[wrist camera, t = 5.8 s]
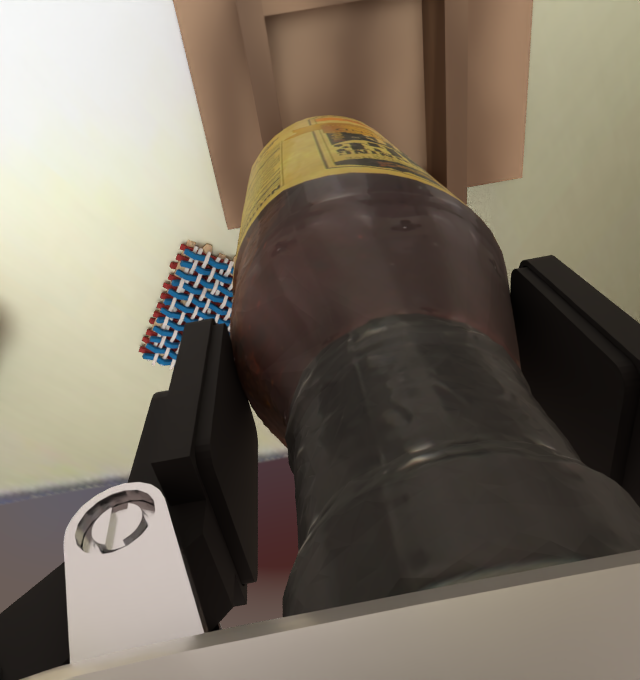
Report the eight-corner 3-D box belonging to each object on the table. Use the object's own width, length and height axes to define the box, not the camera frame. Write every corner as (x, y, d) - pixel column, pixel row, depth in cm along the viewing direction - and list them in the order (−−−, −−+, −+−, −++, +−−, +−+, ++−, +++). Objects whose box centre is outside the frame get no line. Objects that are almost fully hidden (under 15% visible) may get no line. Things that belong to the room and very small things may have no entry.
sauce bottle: (425, 192, 23) (950, 700, 6) (316, 287, 24) (464, 898, 7) (323, 63, 20) (765, 300, 3) (207, 180, 21) (31, 782, 4)
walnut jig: (530, -128, 29) (583, -155, 24) (514, 173, 37) (551, 194, 32) (158, -70, 28) (142, -87, 23) (228, 223, 36) (226, 252, 32)
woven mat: (183, 229, 37) (180, 239, 35) (320, 285, 40) (324, 297, 38) (136, 349, 41) (131, 363, 39) (263, 390, 44) (264, 405, 43)
